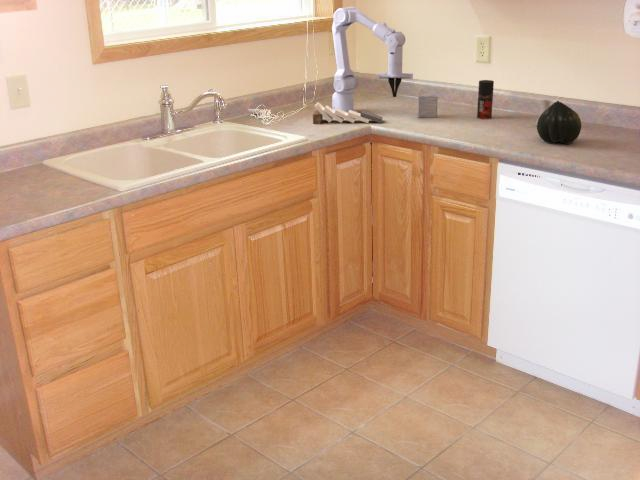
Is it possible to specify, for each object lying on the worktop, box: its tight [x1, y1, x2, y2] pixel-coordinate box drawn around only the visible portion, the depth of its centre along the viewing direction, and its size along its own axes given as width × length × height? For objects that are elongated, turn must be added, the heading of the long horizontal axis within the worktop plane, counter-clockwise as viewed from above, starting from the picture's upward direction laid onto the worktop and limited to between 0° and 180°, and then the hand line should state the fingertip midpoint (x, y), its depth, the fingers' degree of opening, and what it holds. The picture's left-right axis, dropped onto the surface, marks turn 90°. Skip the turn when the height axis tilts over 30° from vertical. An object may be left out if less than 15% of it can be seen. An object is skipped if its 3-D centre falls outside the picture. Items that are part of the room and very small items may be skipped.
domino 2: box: [323, 104, 345, 124], centre depth 307 cm, size 2×5×9 cm
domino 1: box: [314, 101, 334, 124], centre depth 307 cm, size 2×5×9 cm
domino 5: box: [360, 110, 383, 124], centre depth 305 cm, size 2×5×9 cm
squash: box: [536, 100, 582, 145], centre depth 267 cm, size 14×15×15 cm
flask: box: [534, 99, 552, 128], centre depth 290 cm, size 7×7×10 cm
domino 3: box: [334, 108, 356, 124], centre depth 306 cm, size 2×5×9 cm
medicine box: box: [417, 94, 439, 118], centre depth 311 cm, size 8×4×9 cm, turn 84°
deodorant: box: [476, 79, 495, 120], centre depth 305 cm, size 6×6×15 cm
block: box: [312, 109, 324, 125], centre depth 308 cm, size 3×8×4 cm, turn 173°
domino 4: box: [347, 110, 370, 124], centre depth 306 cm, size 2×5×9 cm
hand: (394, 96), depth 307 cm, fingers closed
